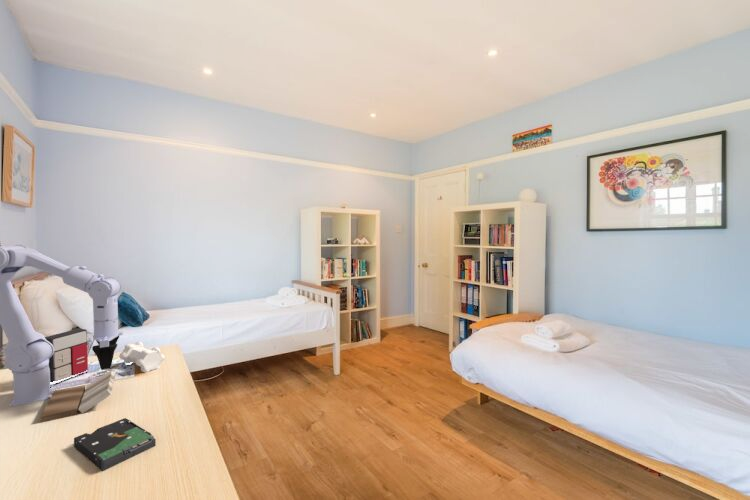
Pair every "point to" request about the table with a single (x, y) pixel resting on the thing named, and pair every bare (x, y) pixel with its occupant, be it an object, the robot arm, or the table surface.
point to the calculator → (68, 354)
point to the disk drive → (114, 443)
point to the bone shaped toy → (142, 356)
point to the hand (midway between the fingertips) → (107, 364)
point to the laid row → (63, 404)
